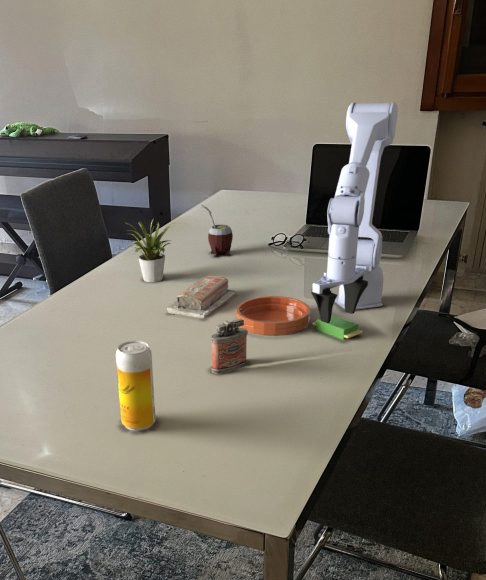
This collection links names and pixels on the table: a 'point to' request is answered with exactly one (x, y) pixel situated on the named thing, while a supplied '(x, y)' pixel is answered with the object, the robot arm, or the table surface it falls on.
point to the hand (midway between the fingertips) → (337, 316)
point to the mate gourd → (219, 238)
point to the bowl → (273, 315)
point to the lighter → (229, 347)
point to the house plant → (151, 254)
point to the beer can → (135, 385)
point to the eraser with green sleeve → (338, 327)
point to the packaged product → (202, 297)
